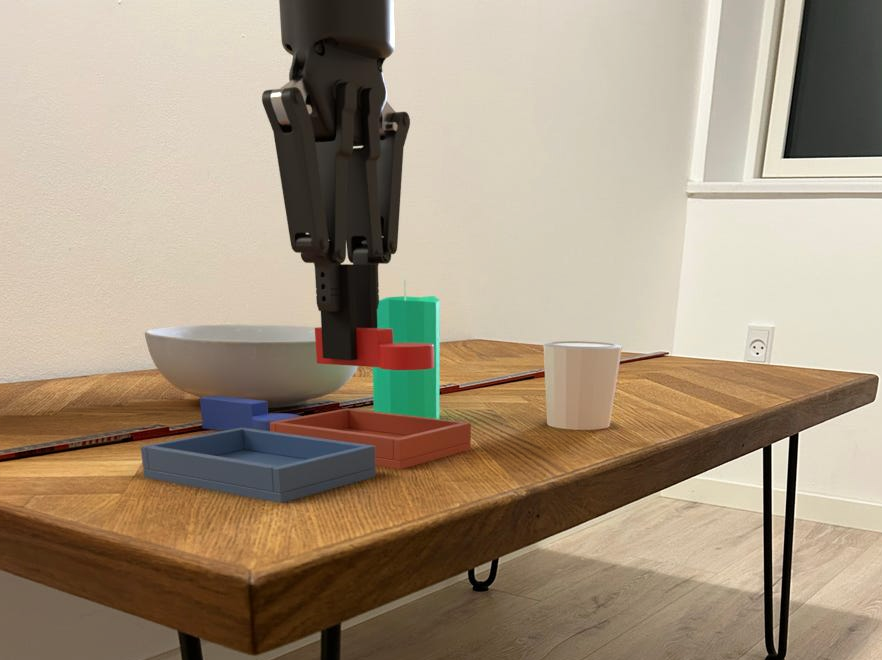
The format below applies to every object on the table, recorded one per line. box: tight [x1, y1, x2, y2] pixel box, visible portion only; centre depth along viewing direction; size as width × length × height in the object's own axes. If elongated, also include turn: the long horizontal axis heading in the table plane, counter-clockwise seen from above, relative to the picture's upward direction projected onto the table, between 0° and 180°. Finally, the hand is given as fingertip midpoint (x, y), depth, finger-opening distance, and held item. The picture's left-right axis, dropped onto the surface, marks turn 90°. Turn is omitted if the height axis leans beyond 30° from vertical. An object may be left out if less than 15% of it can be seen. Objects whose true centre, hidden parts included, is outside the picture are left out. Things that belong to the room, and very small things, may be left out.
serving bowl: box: [144, 324, 359, 409], centre depth 94 cm, size 21×21×7 cm
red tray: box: [270, 407, 472, 470], centre depth 72 cm, size 12×9×2 cm
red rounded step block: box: [315, 326, 434, 370], centre depth 69 cm, size 10×4×3 cm, turn 58°
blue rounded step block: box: [199, 395, 302, 432], centre depth 78 cm, size 10×4×3 cm, turn 58°
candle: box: [372, 279, 441, 419], centre depth 84 cm, size 6×6×12 cm
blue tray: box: [140, 428, 377, 504], centre depth 63 cm, size 12×9×2 cm
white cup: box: [542, 340, 623, 431], centre depth 84 cm, size 7×7×7 cm
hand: (350, 356), depth 71 cm, fingers closed on red rounded step block, 2 cm apart
